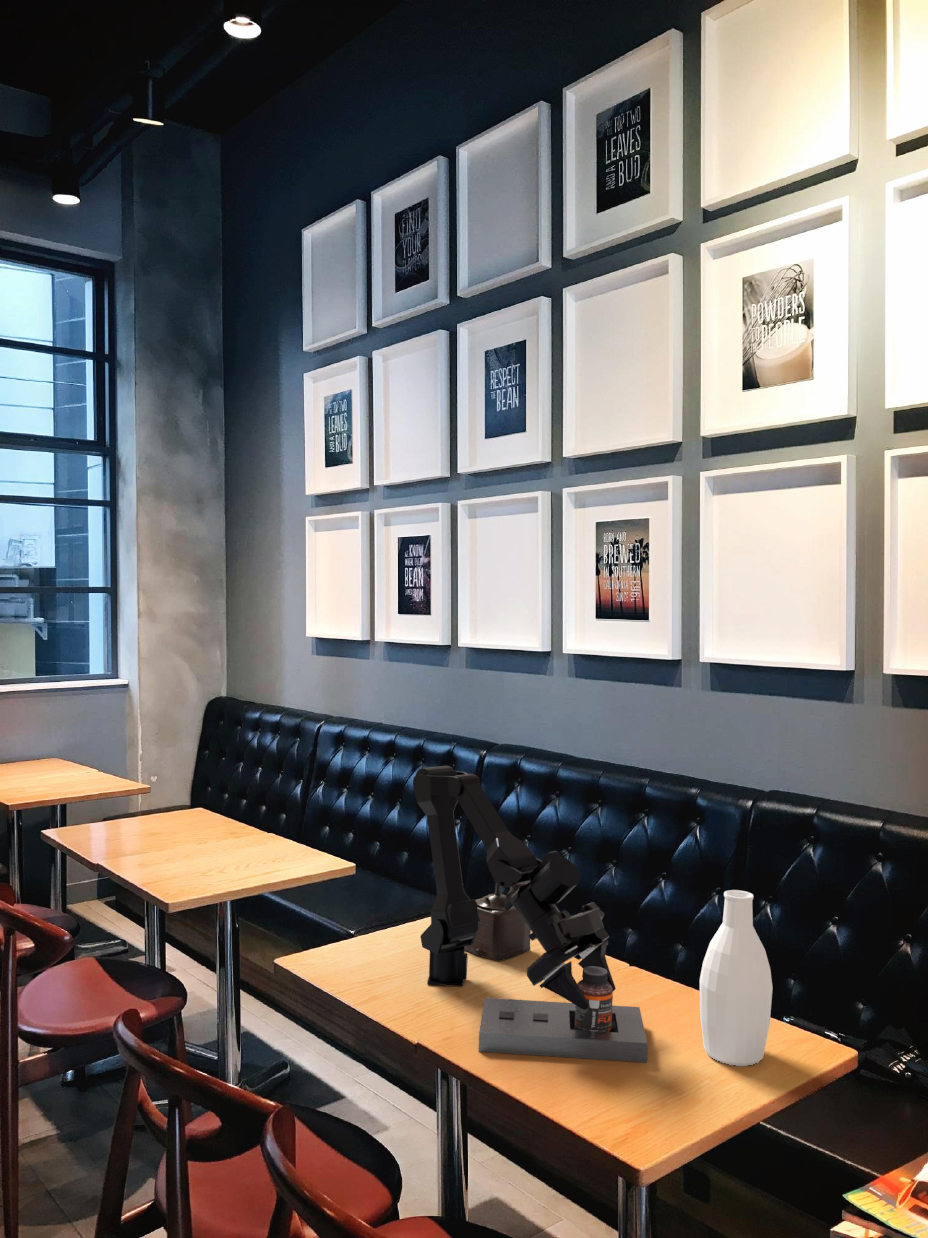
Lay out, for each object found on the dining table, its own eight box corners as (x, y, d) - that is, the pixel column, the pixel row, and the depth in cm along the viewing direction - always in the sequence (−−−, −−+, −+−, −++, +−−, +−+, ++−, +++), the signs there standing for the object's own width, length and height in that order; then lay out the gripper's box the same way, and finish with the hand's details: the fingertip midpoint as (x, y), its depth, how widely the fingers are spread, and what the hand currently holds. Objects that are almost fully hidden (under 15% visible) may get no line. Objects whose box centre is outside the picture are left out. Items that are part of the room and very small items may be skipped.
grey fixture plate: (478, 1051, 157) (479, 1031, 157) (484, 1015, 171) (484, 996, 171) (646, 1062, 155) (647, 1042, 155) (638, 1025, 169) (639, 1006, 168)
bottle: (767, 1043, 163) (772, 887, 162) (773, 1074, 152) (779, 907, 151) (696, 1035, 165) (701, 881, 165) (698, 1065, 154) (703, 900, 154)
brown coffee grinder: (457, 950, 203) (459, 861, 202) (493, 937, 211) (495, 852, 211) (515, 971, 192) (518, 877, 192) (551, 957, 200) (554, 867, 200)
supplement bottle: (601, 1051, 158) (604, 980, 158) (567, 1042, 161) (569, 971, 161) (617, 1038, 163) (619, 969, 163) (583, 1029, 166) (585, 961, 166)
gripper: (545, 903, 157) (607, 990, 150) (600, 878, 172) (658, 956, 166) (501, 942, 161) (559, 1028, 155) (558, 915, 177) (614, 992, 170)
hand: (600, 999), depth 161 cm, fingers open, 9 cm apart
